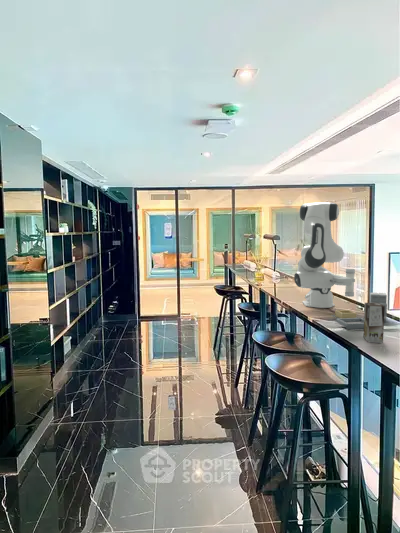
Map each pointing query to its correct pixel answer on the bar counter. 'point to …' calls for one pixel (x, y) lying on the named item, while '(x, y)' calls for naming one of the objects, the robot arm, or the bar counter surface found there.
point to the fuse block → (344, 314)
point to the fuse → (350, 289)
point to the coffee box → (374, 322)
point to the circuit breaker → (379, 300)
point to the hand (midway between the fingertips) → (351, 279)
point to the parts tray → (351, 325)
